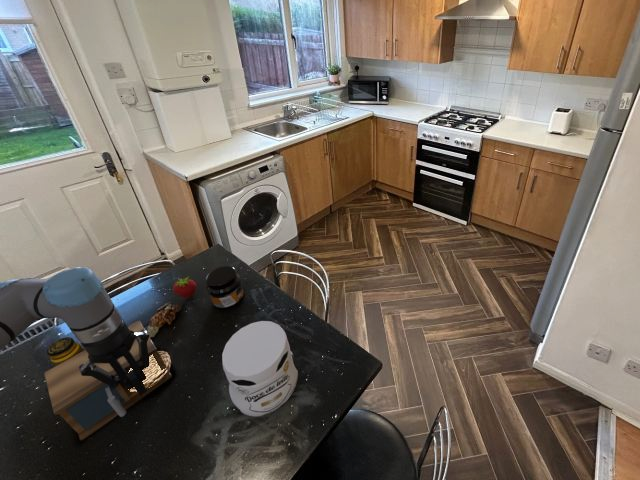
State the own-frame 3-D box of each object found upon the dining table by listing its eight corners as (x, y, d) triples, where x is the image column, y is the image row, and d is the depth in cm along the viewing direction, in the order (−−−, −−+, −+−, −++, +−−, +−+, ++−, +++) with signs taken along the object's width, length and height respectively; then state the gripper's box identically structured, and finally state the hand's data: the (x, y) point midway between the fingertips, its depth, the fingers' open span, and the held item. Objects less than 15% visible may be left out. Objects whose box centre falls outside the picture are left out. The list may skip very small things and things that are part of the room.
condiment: (87, 380, 87) (65, 354, 81) (51, 387, 86) (27, 361, 80) (101, 356, 93) (82, 330, 88) (68, 362, 92) (47, 336, 86)
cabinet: (69, 401, 82) (44, 372, 76) (155, 348, 96) (139, 320, 89) (81, 441, 75) (53, 413, 68) (172, 377, 88) (156, 348, 82)
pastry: (138, 336, 99) (134, 329, 97) (165, 306, 110) (162, 299, 108) (159, 338, 99) (155, 331, 97) (184, 308, 109) (180, 300, 107)
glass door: (84, 428, 76) (63, 406, 71) (129, 397, 82) (113, 375, 77) (89, 445, 73) (68, 423, 68) (136, 412, 79) (119, 389, 74)
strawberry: (184, 290, 116) (176, 270, 111) (203, 292, 115) (196, 272, 111) (174, 303, 111) (164, 283, 106) (194, 304, 110) (185, 284, 105)
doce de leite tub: (273, 433, 76) (259, 393, 67) (219, 406, 81) (199, 366, 73) (311, 368, 90) (304, 328, 82) (263, 349, 96) (251, 309, 87)
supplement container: (231, 314, 107) (222, 289, 101) (206, 307, 109) (196, 282, 103) (250, 292, 116) (244, 267, 110) (227, 285, 118) (219, 262, 112)
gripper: (65, 362, 61) (114, 422, 73) (142, 319, 70) (175, 379, 81) (58, 339, 65) (106, 400, 77) (131, 302, 74) (165, 361, 86)
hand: (141, 389), depth 79 cm, fingers closed
